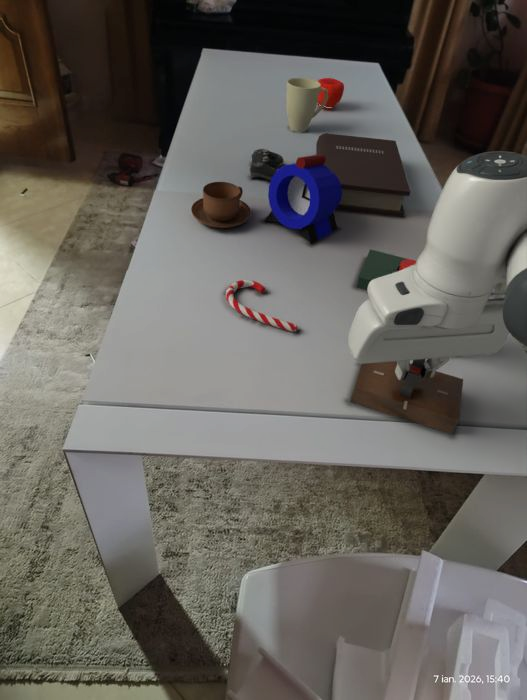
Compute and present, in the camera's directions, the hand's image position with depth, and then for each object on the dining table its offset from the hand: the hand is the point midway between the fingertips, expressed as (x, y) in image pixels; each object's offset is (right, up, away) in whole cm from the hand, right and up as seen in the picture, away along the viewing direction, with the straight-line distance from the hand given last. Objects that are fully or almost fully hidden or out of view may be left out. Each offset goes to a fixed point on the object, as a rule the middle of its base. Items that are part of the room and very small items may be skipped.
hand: (413, 375), depth 69 cm
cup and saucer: (-29, +30, +36) cm, 55 cm away
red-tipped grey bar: (0, -1, +1) cm, 2 cm away
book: (+2, +43, +52) cm, 68 cm away
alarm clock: (-12, +30, +37) cm, 49 cm away
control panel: (0, -3, +3) cm, 5 cm away
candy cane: (-20, +10, +15) cm, 27 cm away
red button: (+5, +17, +20) cm, 27 cm away
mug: (-10, +66, +75) cm, 101 cm away
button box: (+4, +16, +24) cm, 29 cm away
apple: (-1, +79, +90) cm, 120 cm away
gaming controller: (-20, +46, +53) cm, 73 cm away
